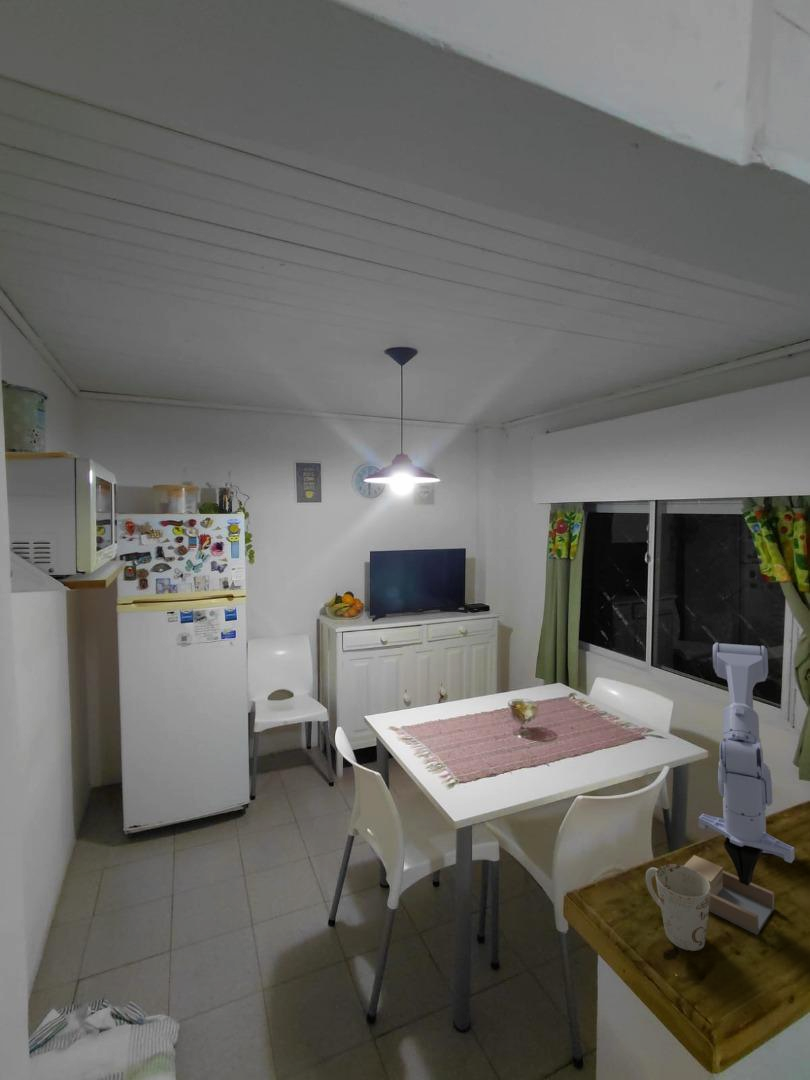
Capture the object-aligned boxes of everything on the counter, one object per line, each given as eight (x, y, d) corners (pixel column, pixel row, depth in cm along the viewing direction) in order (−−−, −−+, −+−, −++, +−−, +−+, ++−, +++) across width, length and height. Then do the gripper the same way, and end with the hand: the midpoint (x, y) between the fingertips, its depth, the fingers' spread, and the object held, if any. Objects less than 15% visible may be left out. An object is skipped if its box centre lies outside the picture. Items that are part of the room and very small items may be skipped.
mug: (688, 964, 83) (686, 903, 83) (628, 912, 95) (626, 858, 95) (724, 946, 87) (722, 887, 86) (661, 897, 98) (659, 846, 98)
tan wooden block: (682, 888, 100) (681, 868, 99) (694, 874, 103) (694, 854, 103) (711, 902, 95) (710, 881, 95) (723, 887, 99) (723, 867, 99)
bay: (672, 892, 99) (672, 877, 99) (692, 871, 105) (692, 856, 105) (757, 935, 88) (756, 917, 88) (774, 908, 94) (773, 892, 94)
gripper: (690, 800, 96) (693, 872, 97) (784, 834, 85) (787, 915, 85) (706, 787, 101) (709, 855, 101) (797, 817, 89) (799, 893, 90)
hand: (745, 881), depth 94 cm, fingers closed
